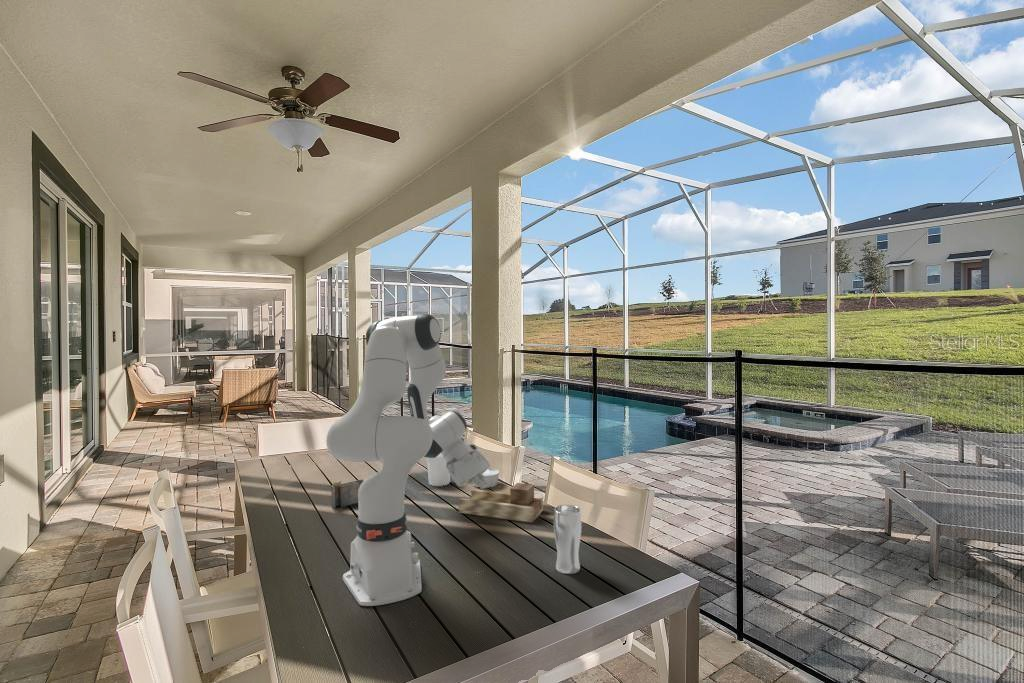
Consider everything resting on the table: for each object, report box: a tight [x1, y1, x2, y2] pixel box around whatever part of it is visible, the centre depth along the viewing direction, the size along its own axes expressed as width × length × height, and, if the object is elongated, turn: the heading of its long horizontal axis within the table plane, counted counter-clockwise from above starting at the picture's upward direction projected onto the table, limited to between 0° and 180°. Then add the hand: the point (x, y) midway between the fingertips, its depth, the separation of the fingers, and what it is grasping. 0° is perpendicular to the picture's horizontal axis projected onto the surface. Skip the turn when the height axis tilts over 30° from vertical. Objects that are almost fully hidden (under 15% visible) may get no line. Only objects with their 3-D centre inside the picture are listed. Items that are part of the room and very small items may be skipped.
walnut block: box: [509, 482, 535, 506], centre depth 157 cm, size 6×6×8 cm
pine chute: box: [458, 488, 544, 523], centre depth 160 cm, size 26×11×4 cm, turn 69°
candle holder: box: [426, 453, 451, 487], centre depth 192 cm, size 10×10×12 cm
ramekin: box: [472, 467, 500, 489], centre depth 189 cm, size 11×11×5 cm
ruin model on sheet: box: [330, 479, 365, 509], centre depth 169 cm, size 11×3×10 cm, turn 133°
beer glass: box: [553, 504, 582, 575], centre depth 120 cm, size 7×7×15 cm
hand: (485, 486), depth 161 cm, fingers closed
